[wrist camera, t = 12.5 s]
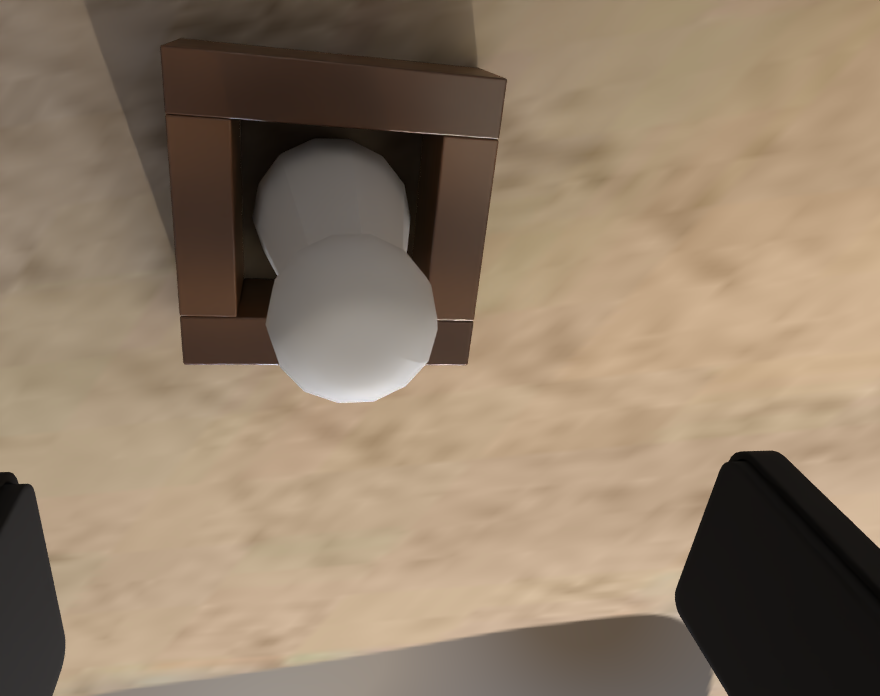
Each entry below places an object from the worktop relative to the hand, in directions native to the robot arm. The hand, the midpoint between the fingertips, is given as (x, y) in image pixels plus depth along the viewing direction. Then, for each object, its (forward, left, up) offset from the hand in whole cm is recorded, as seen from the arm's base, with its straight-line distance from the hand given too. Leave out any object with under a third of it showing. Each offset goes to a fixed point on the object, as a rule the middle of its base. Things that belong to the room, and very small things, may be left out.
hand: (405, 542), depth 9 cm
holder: (+1, 0, -21) cm, 21 cm away
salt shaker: (+1, 0, -21) cm, 21 cm away
